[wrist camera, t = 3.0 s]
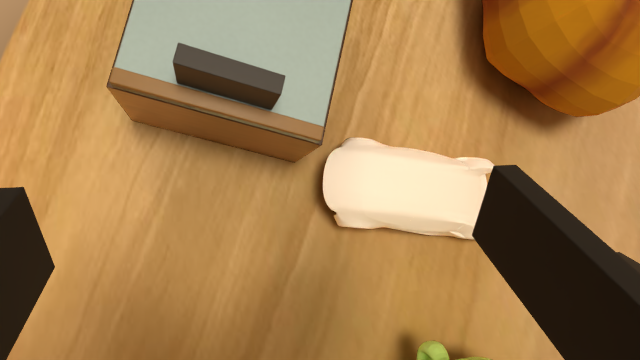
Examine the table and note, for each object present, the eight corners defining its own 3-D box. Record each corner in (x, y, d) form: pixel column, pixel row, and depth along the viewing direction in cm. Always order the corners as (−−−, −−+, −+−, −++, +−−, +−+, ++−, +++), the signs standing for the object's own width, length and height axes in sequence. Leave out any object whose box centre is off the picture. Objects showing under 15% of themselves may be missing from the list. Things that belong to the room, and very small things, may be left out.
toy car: (485, 164, 42) (517, 157, 38) (481, 240, 41) (514, 243, 37) (318, 138, 38) (332, 127, 33) (309, 223, 37) (323, 224, 33)
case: (131, 120, 34) (105, 86, 25) (187, -72, 36) (181, -163, 28) (294, 162, 37) (321, 145, 28) (334, -17, 40) (370, -82, 31)
